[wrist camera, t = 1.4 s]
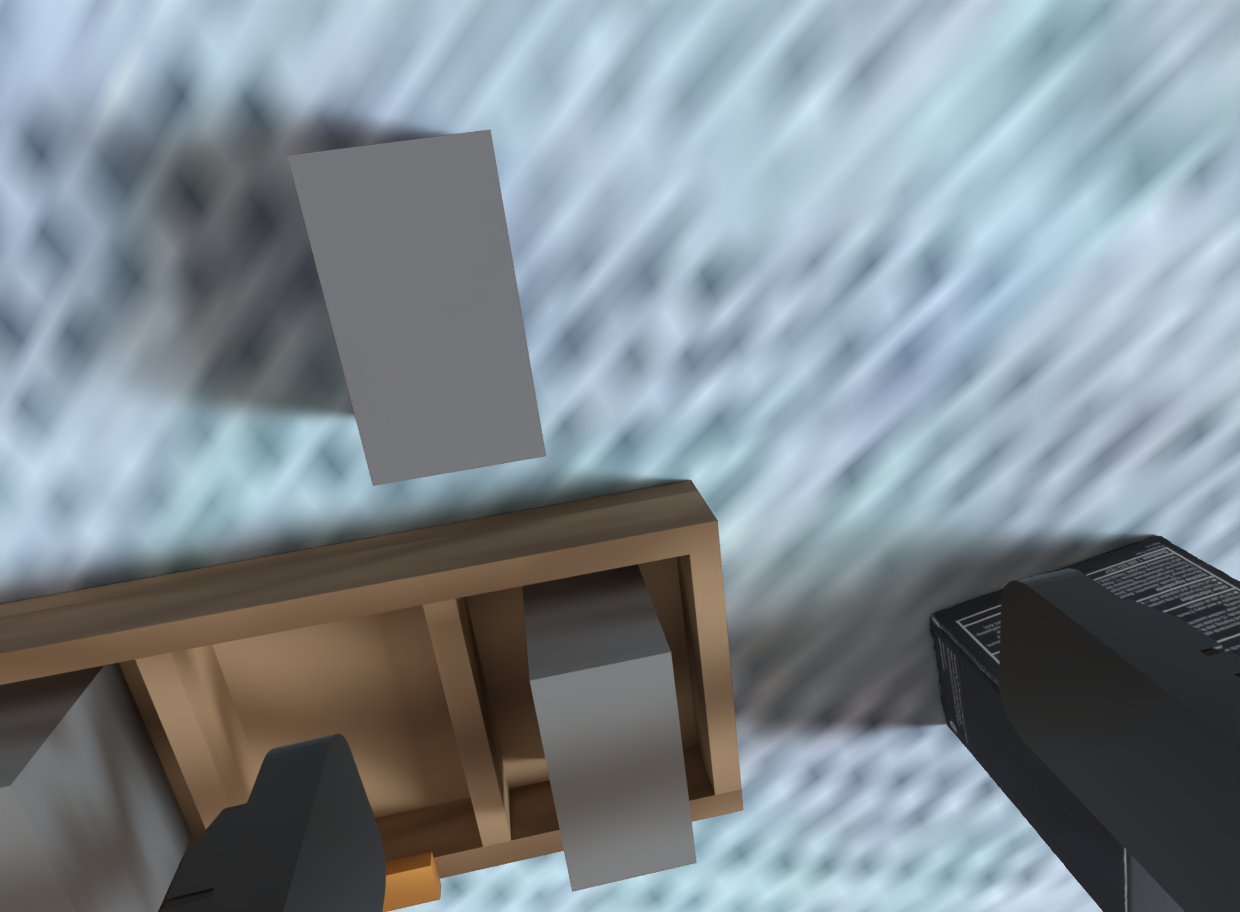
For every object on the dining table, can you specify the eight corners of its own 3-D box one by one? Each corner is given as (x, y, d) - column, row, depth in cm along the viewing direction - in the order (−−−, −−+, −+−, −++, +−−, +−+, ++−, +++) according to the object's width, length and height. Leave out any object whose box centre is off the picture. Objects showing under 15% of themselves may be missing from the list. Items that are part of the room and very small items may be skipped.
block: (336, 159, 23) (287, 155, 17) (490, 139, 23) (490, 129, 18) (398, 417, 26) (373, 485, 20) (534, 395, 26) (546, 456, 21)
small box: (943, 733, 34) (1124, 958, 24) (923, 612, 32) (1116, 807, 22) (1165, 654, 34) (1431, 844, 25) (1162, 529, 32) (1455, 684, 22)
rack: (-105, 622, 25) (-311, 779, 19) (691, 480, 28) (752, 573, 21) (43, 898, 30) (-82, 1101, 23) (718, 751, 32) (775, 897, 26)
